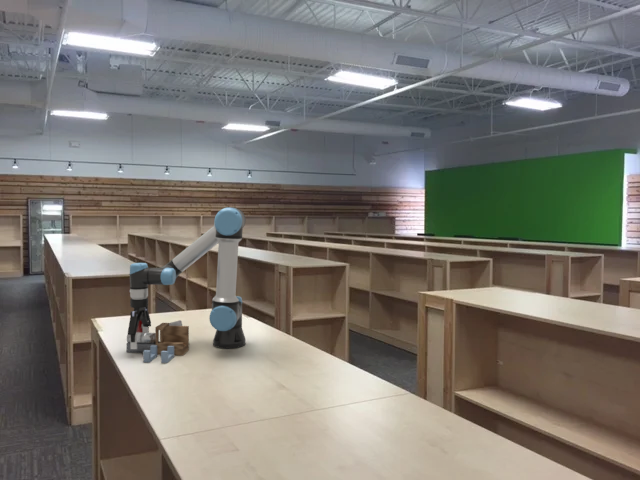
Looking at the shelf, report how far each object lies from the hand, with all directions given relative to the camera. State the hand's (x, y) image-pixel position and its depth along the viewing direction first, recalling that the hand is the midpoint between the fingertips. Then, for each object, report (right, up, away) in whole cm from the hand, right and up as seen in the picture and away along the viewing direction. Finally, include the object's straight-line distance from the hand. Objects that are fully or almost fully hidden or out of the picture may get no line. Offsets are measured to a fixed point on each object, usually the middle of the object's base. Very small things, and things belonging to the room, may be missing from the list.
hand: (140, 344), depth 240 cm
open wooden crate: (+15, -3, -1) cm, 15 cm away
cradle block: (+12, -4, -12) cm, 17 cm away
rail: (+2, -3, 0) cm, 3 cm away
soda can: (-6, -2, +19) cm, 20 cm away
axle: (+1, +1, 0) cm, 1 cm away
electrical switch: (+10, -2, +20) cm, 22 cm away
